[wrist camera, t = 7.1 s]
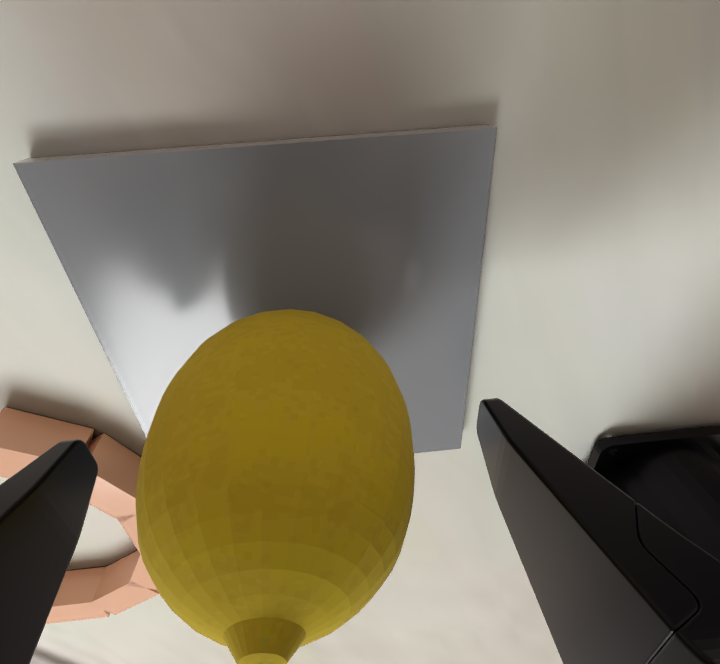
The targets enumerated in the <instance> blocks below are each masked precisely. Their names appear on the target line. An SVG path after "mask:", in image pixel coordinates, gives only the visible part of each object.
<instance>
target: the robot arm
mask: <svg viewBox="0 0 720 664" xmlns="http://www.w3.org/2000/svg"><path fill="white" fill-rule="evenodd" d="M477 434H478V438H479V441H480V445H481V448H482V452H483V455H484V459H485V462H486V466H487V470H488V473H489V477H490V480H491V484H492V487H493V490H494V494H495V497H496V499H497V502H498V505H499V507H500V510H501V512H502V515H503V517H504V519H505V522H506V524H507V527H508V529H509V532H510V534H511V537H512V539H513V542H514V544H515V546H516V549H517V551H518V554H519V556H520V559H521V561H522V564H523V566H524V568H525V571H526V573H527V576H528V578H529V581H530V583H531V586H532V588H533V590H534V593H535V595H536V598H537V600H538V603H539V605H540V608H541V610H542V613H543V615H544V617H545V620H546V622H547V625H548V627H549V630H550V632H551V635H552V637H553V639H554V642H555V644H556V647H557V649H558V652H559V654H560V657H561V659H562V662H563V664H720V426H714V427H704V428H695V429H685V430H676V431H666V432H656V433H647V434H637V435H628V436H618V437H609V438H605V439H602V440H600V441H599V442H598V443H597V444H596V445H595V446H594V449H593V451H592V454H591V457H590V459H589V462H588V465H587V464H586V463H584V462H583V461H582V460H580V459H579V458H578V457H576V456H575V455H574V454H572V453H571V452H570V451H568V450H567V449H566V448H564V447H563V446H562V445H560V444H559V443H558V442H556V441H555V440H554V439H552V438H551V437H550V436H548V435H547V434H546V433H544V432H543V431H542V430H540V429H539V428H538V427H537V426H535V425H534V424H533V423H531V422H530V421H529V420H527V419H526V418H525V417H523V416H522V415H521V414H519V413H518V412H517V411H515V410H514V409H513V408H511V407H510V406H509V405H507V404H506V403H505V402H503V401H502V400H500V399H498V398H495V399H484V400H482V401H481V402H480V405H479V412H478V420H477ZM97 474H98V465H97V462H96V460H95V458H94V457H93V455H92V454H91V452H90V450H89V449H88V447H87V445H86V444H85V442H84V441H82V440H79V439H75V440H65V441H61V442H59V443H57V444H56V445H54V446H53V447H52V448H50V449H49V450H47V451H46V452H45V453H43V454H42V455H41V456H39V457H38V458H37V459H35V460H34V461H32V462H31V463H30V464H28V465H27V466H26V467H24V468H23V469H21V470H20V471H19V472H17V473H16V474H15V475H13V476H12V477H11V478H9V479H8V480H6V481H5V482H4V483H2V484H1V485H0V664H30V661H31V659H32V656H33V654H34V651H35V649H36V646H37V644H38V641H39V639H40V636H41V634H42V631H43V629H44V626H45V624H46V621H47V619H48V616H49V614H50V611H51V609H52V606H53V604H54V601H55V598H56V596H57V593H58V591H59V588H60V586H61V583H62V581H63V578H64V576H65V573H66V571H67V568H68V566H69V563H70V561H71V558H72V556H73V553H74V551H75V548H76V545H77V543H78V540H79V537H80V534H81V531H82V527H83V524H84V520H85V517H86V513H87V510H88V506H89V503H90V499H91V496H92V492H93V488H94V485H95V481H96V478H97Z"/></svg>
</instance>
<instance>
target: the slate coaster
mask: <svg viewBox="0 0 720 664" xmlns="http://www.w3.org/2000/svg"><path fill="white" fill-rule="evenodd" d="M496 131H497V128H496V127H494V126H491V125H475V126H461V127H447V128H434V129H420V130H407V131H393V132H380V133H366V134H352V135H339V136H325V137H312V138H298V139H285V140H271V141H257V142H244V143H230V144H217V145H203V146H190V147H176V148H162V149H149V150H135V151H122V152H108V153H95V154H81V155H67V156H54V157H40V158H28V159H25V160H22V161H19V162H16V163H13V165H14V167H15V169H16V171H17V173H18V175H19V177H20V179H21V181H22V183H23V185H24V187H25V189H26V191H27V193H28V195H29V198H30V200H31V202H32V204H33V206H34V208H35V210H36V212H37V214H38V216H39V218H40V220H41V222H42V224H43V226H44V228H45V230H46V232H47V234H48V237H49V239H50V241H51V243H52V245H53V247H54V249H55V251H56V253H57V255H58V257H59V259H60V261H61V263H62V265H63V267H64V269H65V271H66V274H67V276H68V278H69V280H70V282H71V284H72V286H73V288H74V290H75V292H76V294H77V296H78V298H79V300H80V302H81V304H82V306H83V308H84V310H85V313H86V315H87V317H88V319H89V321H90V323H91V325H92V327H93V329H94V331H95V333H96V335H97V337H98V339H99V341H100V343H101V345H102V347H103V350H104V352H105V354H106V356H107V358H108V360H109V362H110V364H111V366H112V368H113V370H114V372H115V374H116V376H117V378H118V380H119V382H120V384H121V386H122V389H123V391H124V393H125V395H126V397H127V399H128V401H129V403H130V405H131V407H132V409H133V411H134V413H135V415H136V417H137V419H138V421H139V423H140V425H141V428H142V430H143V432H144V434H145V436H146V438H147V434H148V432H149V429H150V426H151V424H152V421H153V418H154V416H155V413H156V410H157V408H158V405H159V403H160V401H161V398H162V396H163V394H164V392H165V390H166V388H167V387H168V385H169V383H170V382H171V380H172V379H173V377H174V376H175V374H176V373H177V372H178V371H179V369H180V368H181V367H182V366H183V365H184V364H185V362H186V361H187V360H188V359H189V358H190V356H191V355H192V354H193V353H194V352H195V351H196V350H197V348H198V347H199V346H200V345H201V344H202V343H203V342H204V341H206V340H207V339H208V338H209V337H211V336H212V335H214V334H215V333H217V332H219V331H220V330H222V329H223V328H225V327H226V326H228V325H229V324H231V323H233V322H235V321H237V320H239V319H242V318H245V317H248V316H251V315H254V314H257V313H260V312H265V311H275V310H285V309H295V310H303V311H311V312H316V313H319V314H322V315H325V316H327V317H330V318H333V319H336V320H338V321H341V322H342V323H344V324H345V325H347V326H348V327H350V328H351V329H353V330H355V331H356V332H358V333H359V334H361V335H362V336H363V337H364V338H365V339H366V340H367V341H368V342H369V343H370V344H371V345H372V346H373V347H374V348H375V350H376V351H377V352H378V353H379V354H380V355H381V356H382V357H383V359H384V360H385V361H386V363H387V364H388V366H389V368H390V370H391V372H392V374H393V376H394V378H395V380H396V382H397V385H398V387H399V389H400V391H401V393H402V395H403V398H404V401H405V403H406V406H407V410H408V414H409V418H410V424H411V431H412V441H413V451H414V453H420V452H430V451H440V450H449V449H459V448H461V440H462V431H463V422H464V413H465V404H466V396H467V387H468V378H469V369H470V360H471V352H472V343H473V334H474V325H475V316H476V307H477V299H478V290H479V281H480V272H481V263H482V255H483V246H484V237H485V228H486V219H487V210H488V202H489V193H490V184H491V175H492V166H493V158H494V149H495V140H496Z"/></svg>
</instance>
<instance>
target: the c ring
mask: <svg viewBox="0 0 720 664" xmlns="http://www.w3.org/2000/svg"><path fill="white" fill-rule="evenodd" d="M93 432H94V429H92V428H88V427H84V426H80V425H76V424H72V423H68V422H64V421H60V420H56V419H51V418H47V417H43V416H39V415H35V414H31V413H27V412H23V411H19V410H15V409H11V408H7V407H5V408H4V409H3V410H2V411H1V412H0V476H1V477H6V478H11V477H12V476H13V475H15V474H16V473H17V472H19V471H20V470H21V469H23V468H24V467H26V466H27V465H28V464H30V463H31V462H32V461H34V460H35V459H37V458H38V457H39V456H41V455H42V454H43V453H45V452H46V451H47V450H49V449H50V448H52V447H53V446H54V445H56V444H57V443H59V442H61V441H65V440H75V439H79V440H82V441H84V442H85V444H86V445H87V447H88V449H89V450H90V452H91V454H92V455H93V457H94V458H95V460H96V462H97V465H98V474H97V478H96V481H95V485H94V488H93V492H92V496H91V499H90V503H89V504H90V505H92V506H94V507H96V508H97V509H99V510H101V511H103V512H105V513H107V514H109V515H110V516H112V517H114V518H116V519H118V520H119V522H120V523H121V525H122V526H123V528H124V529H125V531H126V533H127V534H128V536H129V537H130V539H131V540H132V542H133V544H134V545H135V547H136V548H137V551H135V552H133V553H132V554H130V555H128V556H126V557H124V558H122V559H120V560H118V561H116V562H114V563H112V564H111V565H109V566H107V567H99V568H90V569H81V570H72V571H66V573H65V576H64V578H63V581H62V583H61V586H60V588H59V591H58V593H57V596H56V598H55V601H54V604H53V606H52V609H51V611H50V614H49V616H48V619H47V621H46V623H47V624H49V623H58V622H66V621H75V620H83V619H92V618H101V617H109V615H110V613H112V614H115V615H116V614H118V613H120V612H122V611H124V610H127V609H129V608H131V607H133V606H135V605H137V604H139V603H141V602H143V601H145V600H147V599H149V598H152V597H154V596H156V595H158V594H159V592H158V590H157V588H156V587H155V585H154V583H153V581H152V579H151V577H150V575H149V573H148V571H147V569H146V567H145V565H144V563H143V560H142V556H141V552H140V548H139V545H138V535H137V520H136V504H135V502H136V487H137V478H138V471H139V465H140V460H141V457H140V456H138V455H137V454H135V453H134V452H132V451H131V450H129V449H127V448H126V447H124V446H123V445H121V444H120V443H118V442H117V441H115V440H114V439H112V438H111V437H109V436H108V435H106V434H105V433H103V434H102V435H100V436H99V437H97V438H95V439H94V440H92V436H93ZM91 440H92V441H91Z"/></svg>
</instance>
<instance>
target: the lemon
mask: <svg viewBox="0 0 720 664" xmlns="http://www.w3.org/2000/svg"><path fill="white" fill-rule="evenodd" d="M414 475H415V466H414V451H413V441H412V431H411V424H410V418H409V414H408V410H407V406H406V403H405V401H404V398H403V395H402V393H401V391H400V389H399V387H398V385H397V382H396V380H395V378H394V376H393V374H392V372H391V370H390V368H389V366H388V364H387V363H386V361H385V360H384V359H383V357H382V356H381V355H380V354H379V353H378V352H377V351H376V350H375V348H374V347H373V346H372V345H371V344H370V343H369V342H368V341H367V340H366V339H365V338H364V337H363V336H362V335H361V334H359V333H358V332H356V331H355V330H353V329H351V328H350V327H348V326H347V325H345V324H344V323H342V322H341V321H338V320H336V319H333V318H330V317H327V316H325V315H322V314H319V313H316V312H311V311H303V310H295V309H285V310H275V311H265V312H260V313H257V314H254V315H251V316H248V317H245V318H242V319H239V320H237V321H235V322H233V323H231V324H229V325H228V326H226V327H225V328H223V329H222V330H220V331H219V332H217V333H215V334H214V335H212V336H211V337H209V338H208V339H207V340H206V341H204V342H203V343H202V344H201V345H200V346H199V347H198V348H197V350H196V351H195V352H194V353H193V354H192V355H191V356H190V358H189V359H188V360H187V361H186V362H185V364H184V365H183V366H182V367H181V368H180V369H179V371H178V372H177V373H176V374H175V376H174V377H173V379H172V380H171V382H170V383H169V385H168V387H167V388H166V390H165V392H164V394H163V396H162V398H161V401H160V403H159V405H158V408H157V410H156V413H155V416H154V418H153V421H152V424H151V426H150V429H149V432H148V434H147V438H146V441H145V444H144V447H143V451H142V456H141V460H140V465H139V471H138V478H137V487H136V502H135V504H136V520H137V535H138V545H139V548H140V552H141V556H142V560H143V563H144V565H145V567H146V569H147V571H148V573H149V575H150V577H151V579H152V581H153V583H154V585H155V587H156V588H157V590H158V592H159V594H160V595H161V597H162V598H163V599H164V601H165V602H166V603H167V605H168V606H169V607H170V608H171V610H172V611H173V612H174V613H176V614H177V615H178V616H179V617H180V618H181V619H182V620H183V621H184V622H185V623H187V624H188V625H189V626H190V627H191V628H192V629H194V630H195V631H196V632H198V633H200V634H202V635H204V636H205V637H207V638H209V639H211V640H213V641H215V642H217V643H219V644H221V645H224V646H228V648H229V650H230V652H231V653H232V655H233V657H234V659H235V661H236V663H237V664H287V662H288V661H289V660H290V658H291V657H292V656H293V654H294V653H295V652H296V650H297V649H298V648H299V647H300V646H304V645H306V644H308V643H311V642H313V641H315V640H317V639H319V638H322V637H324V636H326V635H328V634H330V633H332V632H333V631H335V630H336V629H338V628H339V627H340V626H342V625H343V624H344V623H346V622H347V621H348V620H350V619H351V618H352V617H353V616H355V615H356V614H357V613H358V612H359V611H360V610H361V609H362V608H363V607H364V606H365V605H366V604H367V603H368V602H369V601H370V600H371V599H372V597H373V596H374V595H375V593H376V592H377V591H378V590H379V588H380V587H381V586H382V584H383V583H384V581H385V580H386V579H387V577H388V576H389V574H390V573H391V571H392V570H393V567H394V565H395V563H396V561H397V559H398V556H399V554H400V552H401V548H402V545H403V541H404V538H405V535H406V531H407V527H408V524H409V520H410V516H411V509H412V503H413V494H414Z"/></svg>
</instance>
